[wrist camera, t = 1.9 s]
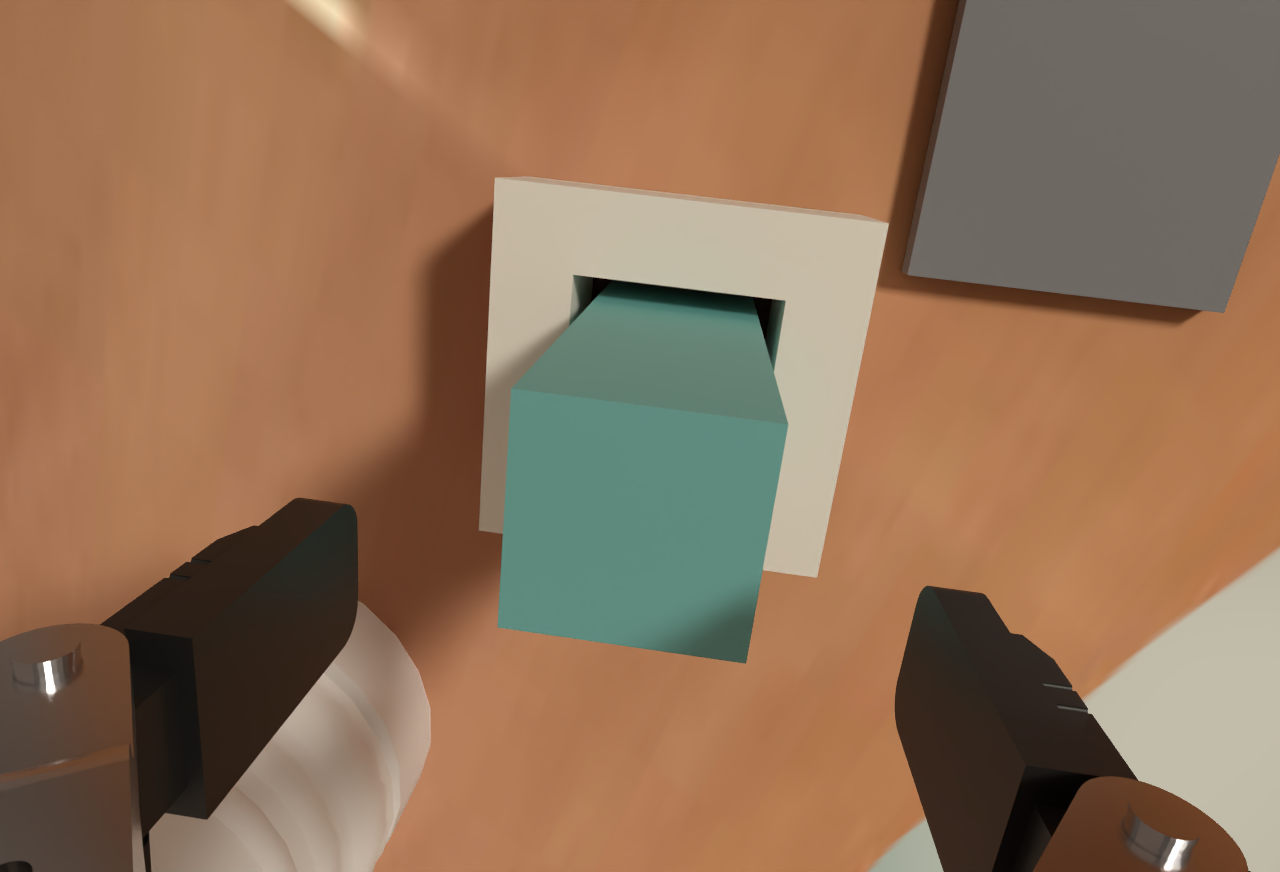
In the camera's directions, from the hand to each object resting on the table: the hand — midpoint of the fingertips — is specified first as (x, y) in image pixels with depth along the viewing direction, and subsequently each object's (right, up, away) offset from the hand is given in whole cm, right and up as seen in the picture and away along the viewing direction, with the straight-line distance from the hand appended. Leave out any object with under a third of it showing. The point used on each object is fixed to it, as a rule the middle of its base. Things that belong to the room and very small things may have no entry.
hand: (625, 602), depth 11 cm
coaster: (+13, +11, +11) cm, 20 cm away
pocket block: (+1, +5, +14) cm, 15 cm away
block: (+1, +5, +14) cm, 15 cm away
